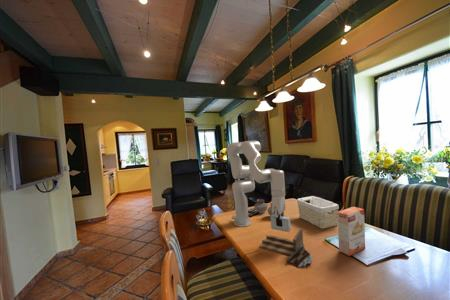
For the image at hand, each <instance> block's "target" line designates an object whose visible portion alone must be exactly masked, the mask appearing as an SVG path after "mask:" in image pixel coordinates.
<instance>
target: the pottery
mask: <svg viewBox="0 0 450 300" xmlns="http://www.w3.org/2000/svg"><path fill="white" fill-rule="evenodd" d="M269 204H270V206H269ZM269 204H268V203H265V199H263V198H258V199H257V200H256V202H255V204H254V205H253V207H254V209H255V211H256V212H257V213H258V212H259V213H258V214H259V215H260V214H261V215H262V214H263V215H264V214H265V213H266V211H267V213H268V215H270V217H271V216H272V215H275V213H274V214H272V201H270V202H269Z"/></svg>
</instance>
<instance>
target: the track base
mask: <svg viewBox="0 0 450 300" xmlns="http://www.w3.org/2000/svg"><path fill="white" fill-rule="evenodd" d="M265 236H266V238H265V239H262V240H261V242H262V243H261V244H260V245H259V248H261V249H264V250H267V251H271V252H275V253H278V254H279V253H280V254H282V255H286V256H288V257H289V256H291V255H292V254H293V253H294V252H295V251H296V250H297V249H298V248H299V247H300V246H301V245H302V244H304V237H303V236H304V235H303V228H299V229H298V231H297V232H296V234H295V235H294V237H293V240H292V239H288V238H284V237H281V236H275V235H270V234H269V235H265Z"/></svg>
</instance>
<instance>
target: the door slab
mask: <svg viewBox="0 0 450 300" xmlns="http://www.w3.org/2000/svg"><path fill="white" fill-rule="evenodd" d="M281 219H282V227H280V226H276V217H274V215H272V216H270V229H271V230H276V231H280V232H281V231H282V232H287V233H290V231H291V218H290V217H289V216H285V215H284V216H281Z"/></svg>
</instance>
